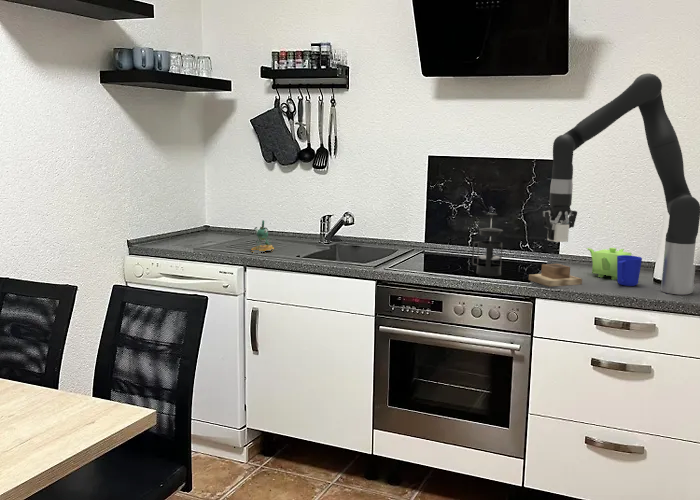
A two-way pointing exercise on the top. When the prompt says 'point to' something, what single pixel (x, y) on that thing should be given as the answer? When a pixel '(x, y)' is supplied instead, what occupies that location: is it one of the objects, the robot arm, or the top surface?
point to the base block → (555, 271)
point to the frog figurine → (262, 238)
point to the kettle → (606, 262)
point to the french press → (488, 251)
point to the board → (554, 280)
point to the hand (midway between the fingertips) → (557, 239)
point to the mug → (628, 270)
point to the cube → (561, 233)
